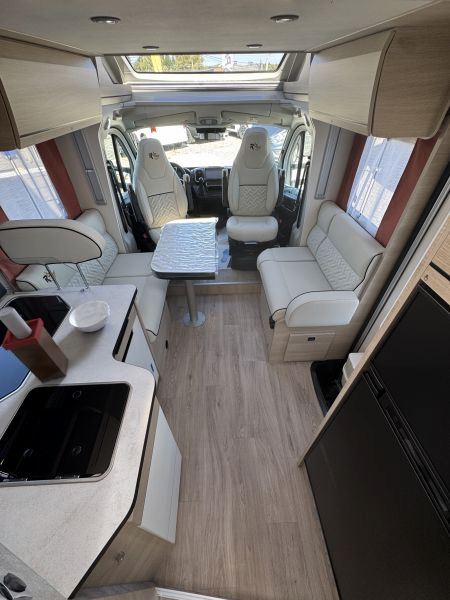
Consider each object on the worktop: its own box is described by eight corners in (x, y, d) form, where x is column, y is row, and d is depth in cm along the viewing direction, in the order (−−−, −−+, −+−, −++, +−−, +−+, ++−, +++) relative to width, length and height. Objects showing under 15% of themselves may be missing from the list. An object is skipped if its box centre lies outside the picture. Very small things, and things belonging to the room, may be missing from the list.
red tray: (6, 350, 87) (1, 346, 86) (13, 329, 94) (9, 325, 93) (38, 342, 90) (35, 337, 88) (43, 322, 97) (40, 318, 95)
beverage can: (35, 331, 93) (16, 307, 85) (25, 341, 90) (4, 317, 81) (24, 329, 94) (5, 305, 86) (14, 339, 90) (-8, 315, 82)
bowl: (72, 319, 130) (66, 309, 125) (108, 306, 137) (104, 296, 132) (78, 343, 118) (72, 333, 113) (118, 327, 125) (113, 316, 120)
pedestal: (42, 383, 103) (8, 349, 88) (45, 365, 110) (14, 330, 94) (66, 376, 105) (37, 341, 90) (68, 359, 112) (41, 324, 96)
